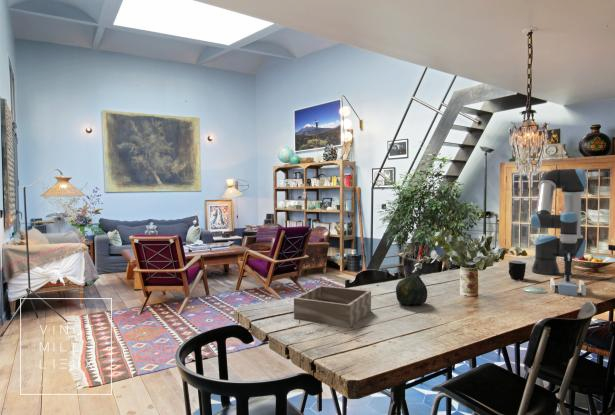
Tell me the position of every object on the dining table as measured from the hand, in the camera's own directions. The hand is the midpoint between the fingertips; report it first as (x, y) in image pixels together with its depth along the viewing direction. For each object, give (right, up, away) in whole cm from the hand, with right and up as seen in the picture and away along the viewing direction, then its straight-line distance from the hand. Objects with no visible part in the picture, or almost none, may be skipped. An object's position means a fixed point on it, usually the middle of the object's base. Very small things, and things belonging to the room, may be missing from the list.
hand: (567, 287), depth 223 cm
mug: (-13, -1, +29) cm, 32 cm away
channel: (+1, -2, +2) cm, 3 cm away
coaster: (-16, -2, +2) cm, 16 cm away
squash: (-86, -5, -19) cm, 88 cm away
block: (-2, -3, -4) cm, 5 cm away
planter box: (-124, -6, -35) cm, 129 cm away
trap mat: (+4, -2, +8) cm, 9 cm away
